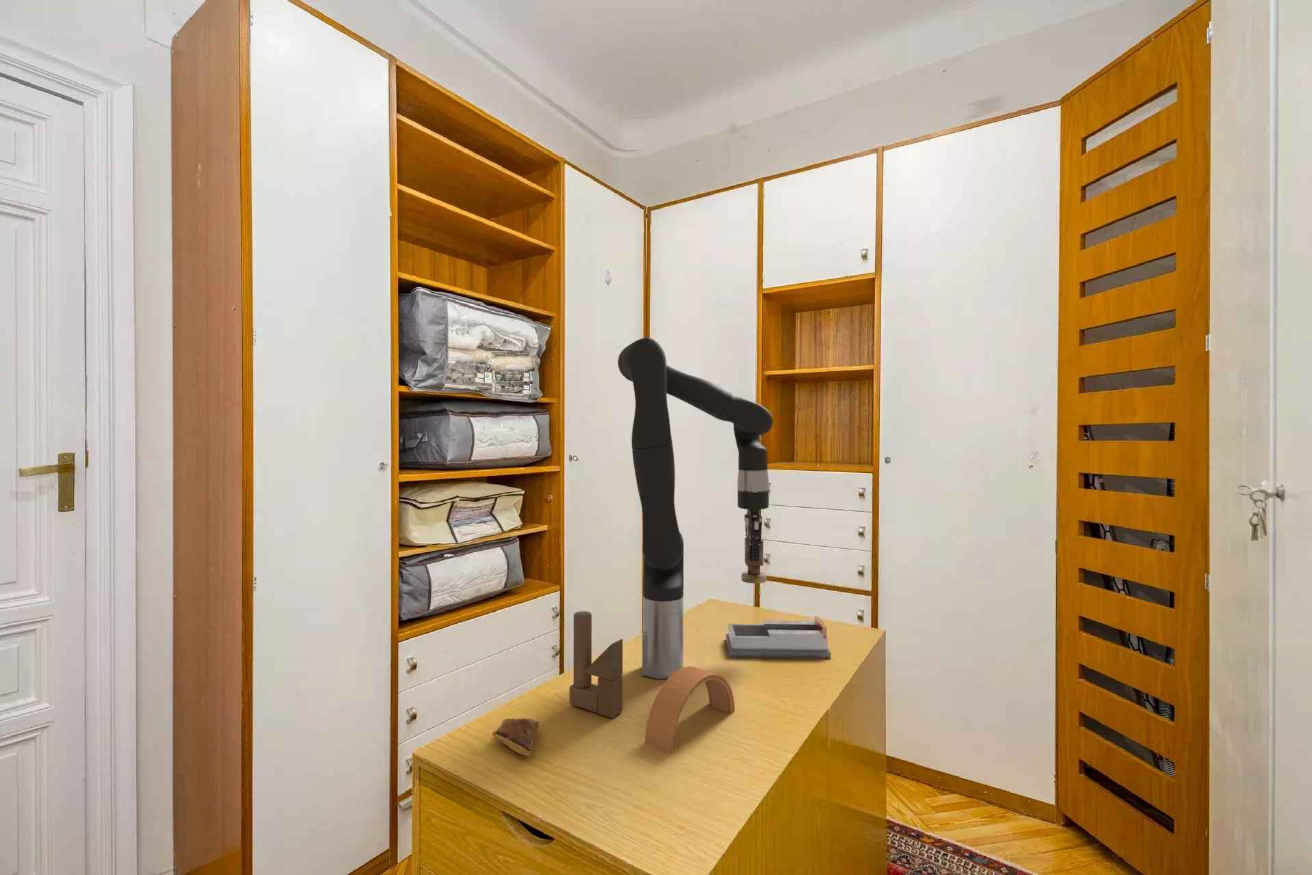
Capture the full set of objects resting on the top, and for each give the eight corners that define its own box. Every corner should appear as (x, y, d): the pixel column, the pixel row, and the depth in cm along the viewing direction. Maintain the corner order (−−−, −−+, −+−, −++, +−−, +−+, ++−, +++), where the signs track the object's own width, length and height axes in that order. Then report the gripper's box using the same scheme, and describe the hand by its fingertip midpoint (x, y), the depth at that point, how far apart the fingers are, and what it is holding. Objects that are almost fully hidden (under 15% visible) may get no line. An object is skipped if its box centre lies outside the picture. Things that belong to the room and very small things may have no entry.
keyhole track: (730, 657, 139) (730, 628, 139) (725, 639, 151) (725, 612, 151) (830, 658, 139) (830, 629, 139) (818, 640, 151) (818, 613, 151)
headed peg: (742, 583, 138) (742, 541, 138) (740, 576, 144) (740, 536, 144) (768, 583, 138) (768, 541, 138) (764, 577, 144) (764, 537, 144)
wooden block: (611, 719, 109) (611, 624, 109) (568, 704, 115) (568, 614, 115) (623, 711, 112) (623, 618, 112) (580, 697, 118) (580, 609, 118)
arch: (735, 712, 112) (735, 660, 112) (669, 755, 97) (669, 696, 97) (711, 702, 116) (711, 653, 116) (643, 742, 101) (644, 685, 101)
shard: (530, 759, 95) (530, 748, 95) (483, 761, 94) (482, 750, 94) (540, 727, 106) (540, 717, 106) (498, 728, 105) (498, 718, 105)
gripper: (734, 485, 148) (735, 552, 149) (740, 491, 134) (740, 565, 134) (764, 485, 148) (764, 552, 148) (773, 491, 134) (773, 565, 134)
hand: (753, 558), depth 141 cm, fingers closed on headed peg, 4 cm apart
